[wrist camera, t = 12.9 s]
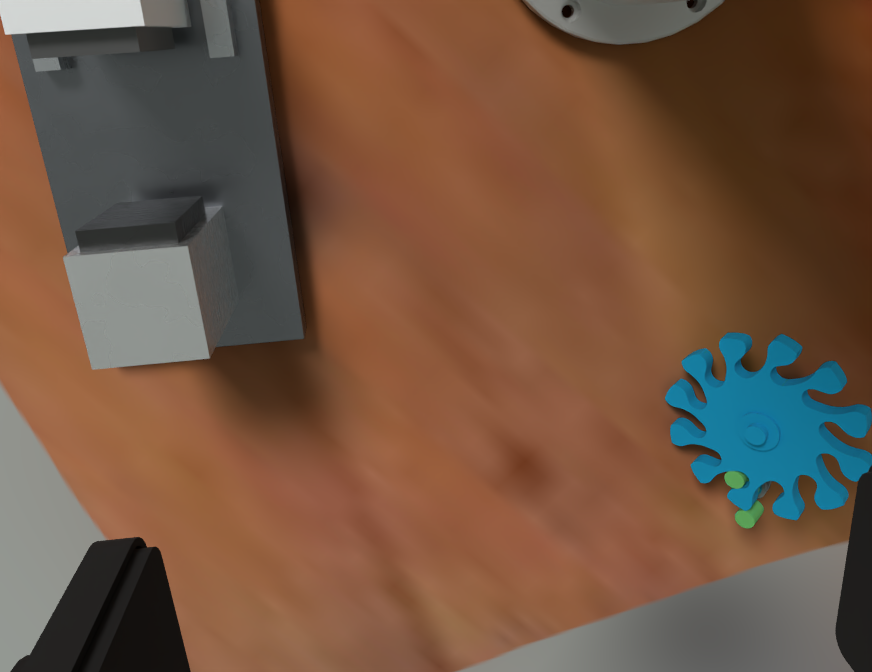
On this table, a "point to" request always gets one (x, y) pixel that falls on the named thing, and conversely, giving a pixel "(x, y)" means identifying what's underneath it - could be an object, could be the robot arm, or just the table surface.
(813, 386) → the gear
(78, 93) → the rail
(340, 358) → the table surface
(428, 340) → the table surface
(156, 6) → the block
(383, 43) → the table surface
